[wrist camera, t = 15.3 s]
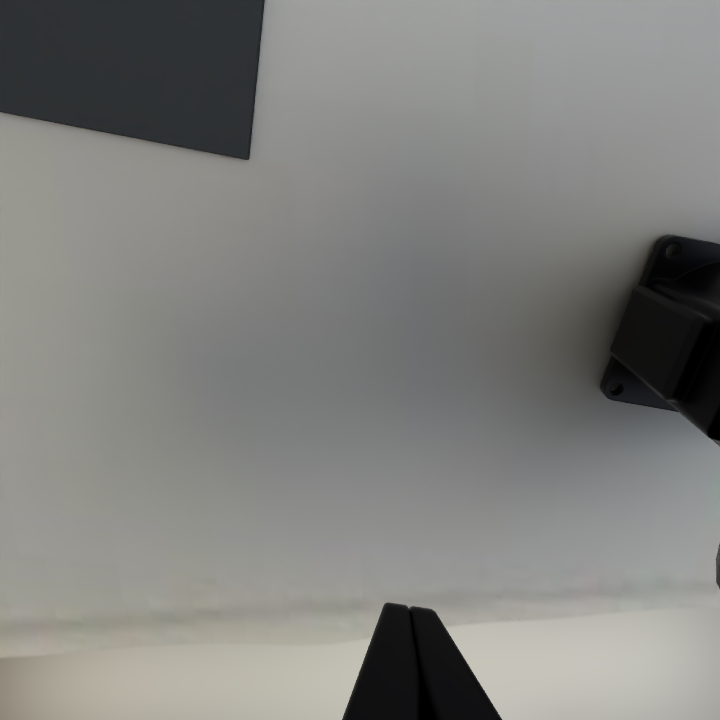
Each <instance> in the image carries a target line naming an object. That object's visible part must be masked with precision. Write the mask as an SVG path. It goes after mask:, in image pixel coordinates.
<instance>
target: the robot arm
mask: <svg viewBox="0 0 720 720" xmlns="http://www.w3.org/2000/svg"><path fill="white" fill-rule="evenodd" d="M671 244H674V246H675V248H674V251H673V252H672V254H670V255H668V256H667V255H666V249H667V248H668V246H669V245H671ZM610 351H611V353H612V355H611V358H610V360H609V363H608V365H607V368H606V370H605V373H604V375H603V378H602V381H601V384H600V389H601V391H602V393H603V394H604V395H605V396H606V397H607V398H608V399H611V400H614V401H620V402H625V403H631V404H637V405H642V406H648V407H654V408H659V409H665V410H671V411H676V412H680V413H681V414H682V415H683V416H684V417H686V418H687V419H688V420H689V421H690V422H691V423H693V424H694V425H695V426H696V427H697V428H698V429H700V430H701V431H702V432H703V433H704V434H705V435H707V436H708V437H709V438H711V439H712V440H713V441H714V442H715V443H716V444H718V445H719V446H720V244H717V243H712V242H707V241H702V240H697V239H692V238H687V237H681V236H676V235H666V236H663V237H661V238H660V239H659V240H658V241H657V242H656V244H655V245H654V248H653V250H652V253H651V255H650V258H649V260H648V263H647V266H646V268H645V271H644V273H643V276H642V278H641V281H640V283H639V286H638V287H637V288H636V289H634V290H633V291H632V294H631V296H630V299H629V302H628V304H627V307H626V309H625V312H624V314H623V317H622V320H621V322H620V325H619V327H618V330H617V332H616V335H615V338H614V340H613V343H612V345H611V348H610ZM616 383H619V386H618V388H617V389H615V390H611V387H612V385H614V384H616ZM716 582H717V584H718V586H719V588H720V544H719V549H718V553H717V557H716ZM342 720H502V719H501V717H500V715H499V714H498V712H497V711H496V709H495V708H494V706H493V704H492V703H491V701H490V699H489V698H488V696H487V695H486V693H485V691H484V690H483V688H482V686H481V685H480V683H479V682H478V680H477V678H476V677H475V675H474V673H473V672H472V670H471V669H470V667H469V665H468V664H467V662H466V661H465V659H464V658H463V656H462V654H461V652H460V651H459V649H458V648H457V646H456V645H455V643H454V641H453V640H452V638H451V636H450V635H449V633H448V631H447V630H446V628H445V627H444V625H443V623H442V622H441V620H440V619H439V617H438V615H437V614H436V612H435V611H434V610H432V609H428V608H421V607H415V606H413V607H410V608H408V607H407V606H406V605H401V604H395V603H385V604H384V606H383V609H382V612H381V615H380V617H379V620H378V623H377V625H376V628H375V631H374V634H373V636H372V639H371V642H370V645H369V647H368V650H367V653H366V656H365V658H364V661H363V664H362V667H361V670H360V672H359V675H358V678H357V680H356V683H355V686H354V689H353V691H352V694H351V697H350V700H349V703H348V705H347V708H346V711H345V713H344V716H343V719H342Z"/></svg>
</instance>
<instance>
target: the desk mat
mask: <svg viewBox="0 0 720 720" xmlns="http://www.w3.org/2000/svg"><path fill="white" fill-rule="evenodd" d="M263 9H264V0H0V112H4V113H9V114H14V115H19V116H24V117H30V118H35V119H40V120H45V121H50V122H55V123H60V124H66V125H71V126H76V127H81V128H86V129H91V130H96V131H102V132H107V133H112V134H117V135H122V136H127V137H133V138H138V139H143V140H148V141H153V142H158V143H163V144H169V145H174V146H179V147H184V148H189V149H194V150H199V151H205V152H210V153H215V154H220V155H225V156H230V157H236V158H241V159H246V160H248V159H249V154H250V144H251V133H252V123H253V113H254V102H255V92H256V82H257V71H258V61H259V51H260V40H261V30H262V20H263Z"/></svg>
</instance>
